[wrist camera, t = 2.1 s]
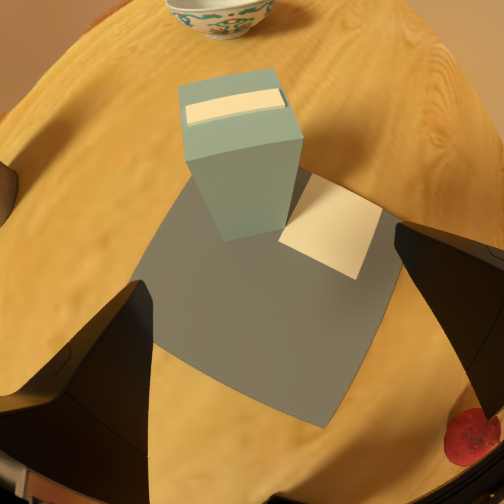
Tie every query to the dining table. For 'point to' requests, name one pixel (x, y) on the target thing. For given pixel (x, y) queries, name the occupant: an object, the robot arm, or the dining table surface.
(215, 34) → the chinaware
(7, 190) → the pillar candle
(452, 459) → the pomegranate
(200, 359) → the mat
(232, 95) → the block
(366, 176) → the dining table surface
